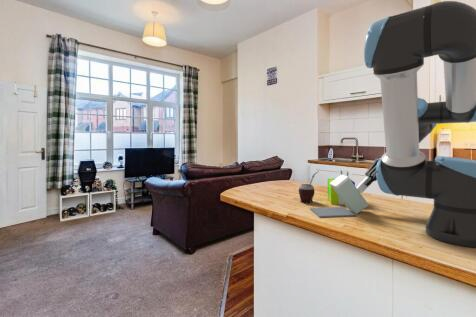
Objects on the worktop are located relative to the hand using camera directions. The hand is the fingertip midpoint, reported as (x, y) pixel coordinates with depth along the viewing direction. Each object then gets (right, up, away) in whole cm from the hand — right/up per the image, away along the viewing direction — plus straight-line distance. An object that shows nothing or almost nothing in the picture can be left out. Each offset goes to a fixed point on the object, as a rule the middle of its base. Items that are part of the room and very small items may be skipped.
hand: (358, 190), depth 101 cm
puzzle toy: (-1, -8, +16) cm, 18 cm away
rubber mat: (-11, -9, 0) cm, 14 cm away
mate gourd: (-16, -8, +17) cm, 24 cm away
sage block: (0, -7, 0) cm, 7 cm away
